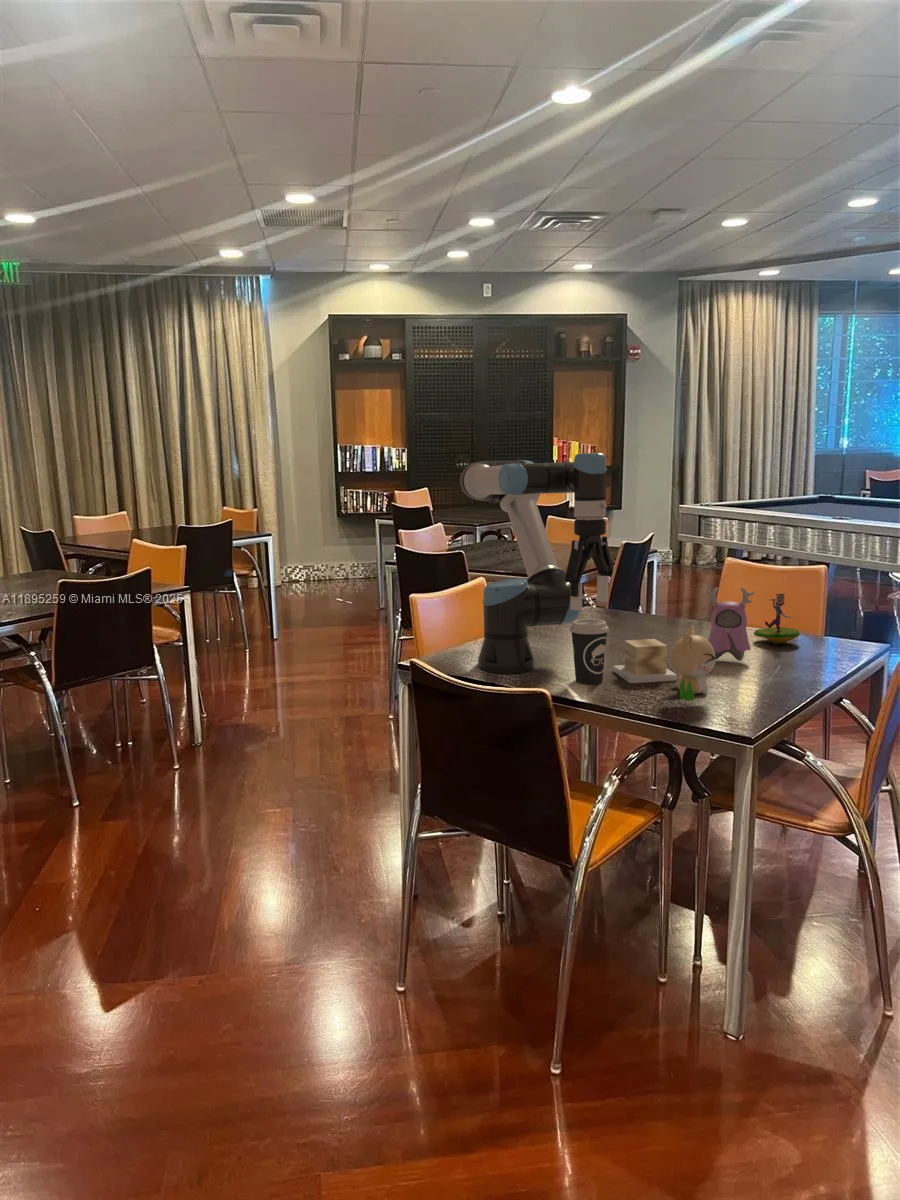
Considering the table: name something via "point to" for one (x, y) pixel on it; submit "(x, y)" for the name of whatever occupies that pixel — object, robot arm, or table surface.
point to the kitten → (692, 664)
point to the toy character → (729, 626)
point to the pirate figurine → (779, 632)
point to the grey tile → (643, 676)
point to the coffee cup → (589, 650)
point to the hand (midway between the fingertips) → (589, 605)
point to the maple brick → (645, 656)
